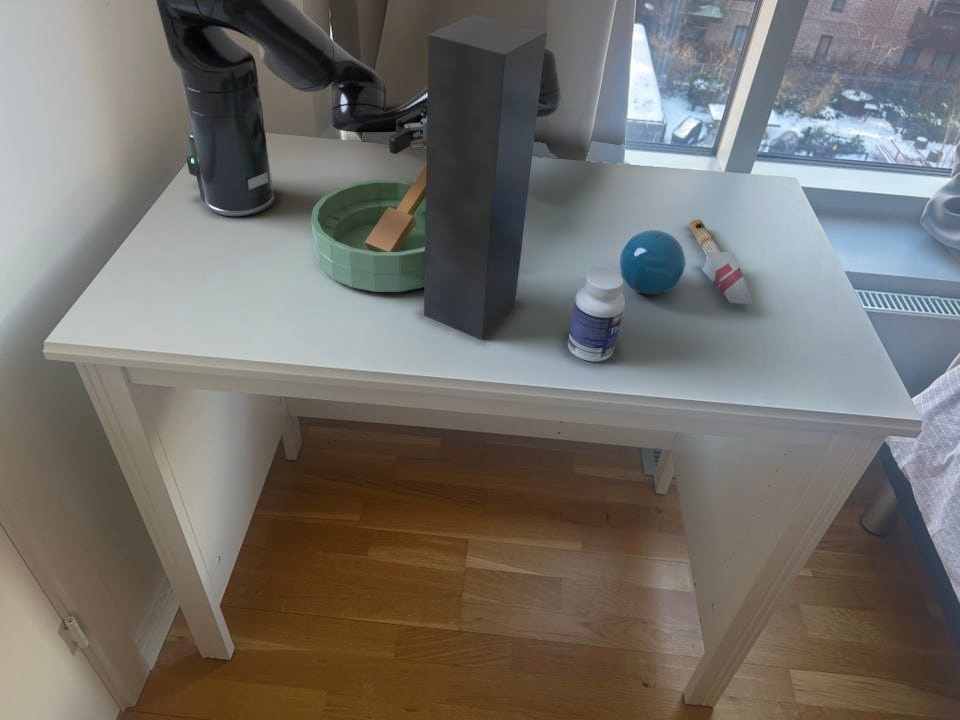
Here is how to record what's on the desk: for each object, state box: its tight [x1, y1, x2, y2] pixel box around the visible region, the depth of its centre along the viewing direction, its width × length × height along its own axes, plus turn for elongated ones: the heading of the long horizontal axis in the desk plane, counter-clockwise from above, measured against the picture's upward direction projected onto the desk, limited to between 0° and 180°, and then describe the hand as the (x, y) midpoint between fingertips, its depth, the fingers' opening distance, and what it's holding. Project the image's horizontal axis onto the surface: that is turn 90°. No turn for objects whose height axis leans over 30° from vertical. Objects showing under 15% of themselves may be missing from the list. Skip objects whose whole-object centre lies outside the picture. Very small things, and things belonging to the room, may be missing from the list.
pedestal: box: [423, 14, 547, 341], centre depth 79 cm, size 8×8×32 cm
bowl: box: [310, 179, 426, 293], centre depth 95 cm, size 19×19×6 cm
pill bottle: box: [567, 267, 626, 362], centre depth 82 cm, size 5×5×10 cm
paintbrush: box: [689, 218, 753, 304], centre depth 99 cm, size 4×3×20 cm
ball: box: [619, 229, 686, 296], centre depth 92 cm, size 8×8×8 cm
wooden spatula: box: [365, 165, 426, 252], centre depth 97 cm, size 16×4×2 cm, turn 149°
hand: (419, 155), depth 94 cm, fingers open, 8 cm apart
